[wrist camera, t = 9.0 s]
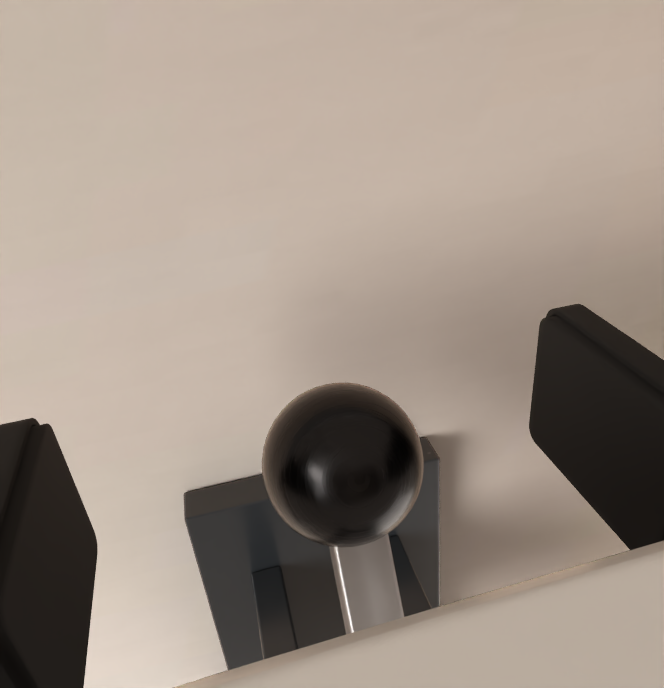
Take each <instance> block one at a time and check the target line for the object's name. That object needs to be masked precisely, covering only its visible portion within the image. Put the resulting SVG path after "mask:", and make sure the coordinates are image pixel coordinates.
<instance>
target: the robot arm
mask: <svg viewBox="0 0 664 688" xmlns="http://www.w3.org/2000/svg"><path fill="white" fill-rule="evenodd" d="M529 429H530V433H531V436H532V438H533V440H534V442H535V443H536V444H537V445H538V446H539V448H540V449H541V450H542V451H543V452H544V453H545V454H546V455H547V457H548V458H549V459H550V460H551V461H552V462H553V463H554V464H555V466H556V467H557V468H558V469H559V470H560V471H561V472H562V473H563V475H564V476H565V477H566V478H567V479H568V480H569V481H570V483H571V484H572V485H573V486H574V487H575V488H576V489H577V490H578V492H579V493H580V494H581V495H582V496H583V497H584V498H585V499H586V501H587V502H588V503H589V504H590V505H591V506H592V507H593V508H594V510H595V511H596V512H597V513H598V514H599V515H600V516H601V517H602V519H603V520H604V521H605V522H606V523H607V524H608V525H609V526H610V528H611V529H612V530H613V531H614V532H615V533H616V534H617V535H618V537H619V538H620V539H621V540H622V541H623V542H624V543H625V544H626V546H627V547H628V548H629V549H630V551H626V552H623V553H619V554H616V555H613V556H609V557H606V558H602V559H599V560H595V561H592V562H589V563H585V564H582V565H578V566H575V567H571V568H568V569H565V570H561V571H558V572H554V573H551V574H547V575H544V576H541V577H537V578H534V579H530V580H527V581H524V582H520V583H517V584H514V585H510V586H507V587H503V588H500V589H497V590H493V591H490V592H487V593H483V594H480V595H477V596H473V597H470V598H466V599H463V600H460V601H456V602H453V603H450V604H446V605H443V606H440V607H436V608H433V609H430V610H426V611H423V612H420V613H416V614H413V615H410V616H406V617H403V618H400V619H396V620H393V621H389V622H386V623H383V624H379V625H376V626H373V627H369V628H366V629H363V630H359V631H356V632H353V633H350V634H346V635H343V636H340V637H336V638H333V639H330V640H327V641H323V642H320V643H317V644H313V645H310V646H307V647H304V648H300V649H297V650H294V651H290V652H287V653H284V654H281V655H277V656H274V657H271V658H267V659H264V660H261V661H258V662H254V663H251V664H248V665H244V666H241V667H238V668H235V669H231V670H228V671H225V672H221V673H218V674H215V675H212V676H208V677H205V678H202V679H199V680H196V681H193V682H190V683H186V684H183V685H180V686H177V687H174V688H664V360H663V359H661V358H660V357H658V356H657V355H655V354H654V353H652V352H651V351H649V350H648V349H646V348H645V347H643V346H642V345H641V344H639V343H638V342H636V341H635V340H633V339H632V338H630V337H629V336H627V335H626V334H624V333H623V332H621V331H620V330H618V329H617V328H616V327H614V326H613V325H611V324H610V323H608V322H607V321H605V320H604V319H602V318H601V317H599V316H598V315H596V314H595V313H594V312H592V311H591V310H589V309H588V308H586V307H585V306H583V305H581V304H574V305H570V306H565V307H560V308H555V309H552V310H550V311H549V312H548V314H547V316H546V318H544V319H542V321H541V322H540V327H539V336H538V346H537V355H536V365H535V374H534V384H533V393H532V402H531V412H530V421H529ZM96 561H97V540H96V536H95V532H94V530H93V527H92V525H91V522H90V520H89V517H88V515H87V512H86V510H85V508H84V505H83V503H82V500H81V498H80V495H79V493H78V490H77V488H76V486H75V483H74V481H73V478H72V476H71V473H70V471H69V468H68V466H67V463H66V461H65V459H64V456H63V454H62V451H61V449H60V446H59V444H58V441H57V439H56V437H55V434H54V432H53V429H52V427H51V426H50V425H49V424H43V425H39V423H38V422H37V420H36V419H34V418H30V419H26V420H21V421H16V422H11V423H7V424H2V425H0V688H83V686H84V676H85V666H86V657H87V647H88V638H89V628H90V619H91V609H92V600H93V590H94V580H95V571H96Z"/></svg>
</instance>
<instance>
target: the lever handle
mask: <svg viewBox="0 0 664 688" xmlns="http://www.w3.org/2000/svg"><path fill="white" fill-rule="evenodd" d="M262 474H263V482H264V485H265V489H266V492H267V495H268V497H269V500H270V502H271V504H272V505H273V507H274V509H275V510H276V512H277V514H278V515H279V516H280V517H281V519H282V520H283V521H284V522H285V523H286V524H287V525H288V526H289V527H290V528H291V529H292V530H294V531H295V532H297V533H298V534H299V535H301V536H303V537H305V538H307V539H308V540H310V541H313V542H315V543H318V544H321V545H325V546H329V549H330V554H331V559H332V565H333V570H334V575H335V580H336V585H337V590H338V595H339V600H340V605H341V610H342V615H343V621H344V626H345V631H346V634H350V633H353V632H356V631H359V630H363V629H366V628H369V627H373V626H376V625H379V624H383V623H386V622H389V621H393V620H396V619H400V618H403V617H404V613H403V608H402V603H401V598H400V593H399V587H398V582H397V577H396V572H395V567H394V562H393V557H392V551H391V546H390V541H389V536H388V533H390V532H391V531H392V530H393V529H395V528H396V527H397V526H398V525H399V524H400V523H401V522H402V521H403V520H404V519H405V518H406V516H407V515H408V513H409V512H410V511H411V509H412V507H413V505H414V503H415V502H416V499H417V497H418V494H419V492H420V488H421V484H422V479H423V452H422V447H421V443H420V439H419V437H418V434H417V432H416V429H415V427H414V426H413V424H412V422H411V420H410V419H409V417H408V416H407V415H406V413H405V412H404V411H403V410H402V409H401V408H400V407H399V406H398V405H397V404H396V403H395V402H394V401H393V400H391V399H390V398H389V397H387V396H386V395H384V394H382V393H381V392H379V391H377V390H375V389H372V388H370V387H367V386H364V385H360V384H354V383H332V384H325V385H322V386H318V387H315V388H313V389H310V390H308V391H306V392H304V393H302V394H301V395H299V396H297V397H296V398H295V399H294V400H292V401H291V402H290V403H289V404H288V405H287V406H286V407H285V408H284V409H283V410H282V411H281V412H280V414H279V415H278V416H277V418H276V419H275V421H274V422H273V424H272V426H271V428H270V430H269V432H268V435H267V437H266V441H265V445H264V449H263V456H262Z"/></svg>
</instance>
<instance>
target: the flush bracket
mask: <svg viewBox="0 0 664 688" xmlns="http://www.w3.org/2000/svg"><path fill="white" fill-rule="evenodd" d="M419 439H420V443H421V447H422V452H423V479H422V484H421V488H420V492H419V494H418V497H417V499H416V502H415V503H414V505H413V507H412V509H411V511H410V512H409V513H408V515H407V516H406V518H405V519H404V520H403V521H402V522H401V523H400V524H399V525H398V526H397V527H396V528H395V529H393V530H392V531H391V532H390V533H388V536H389V541H390V546H391V551H392V557H393V562H394V567H395V572H396V577H397V582H398V587H399V593H400V598H401V603H402V608H403V613H404V617H406V616H410V615H413V614H416V613H420V612H423V611H426V610H430V609H433V608H436V607H440V458H439V457H438V455H437V454H436V452H435V450H434V449H433V447H432V446H431V444H430V442H429V441H428V439H427V438H426V437H423V438H419ZM184 515H185V522H186V526H187V529H188V533H189V536H190V540H191V543H192V547H193V550H194V554H195V557H196V561H197V564H198V567H199V571H200V574H201V578H202V581H203V585H204V588H205V592H206V595H207V599H208V602H209V606H210V609H211V612H212V616H213V619H214V623H215V626H216V630H217V633H218V637H219V640H220V644H221V647H222V651H223V654H224V657H225V661H226V664H227V668H228V670H231V669H235V668H238V667H241V666H244V665H248V664H251V663H254V662H258V661H261V660H264V659H267V658H271V657H274V656H277V655H281V654H284V653H287V652H290V651H294V650H297V649H300V648H304V647H307V646H310V645H313V644H317V643H320V642H323V641H327V640H330V639H333V638H336V637H340V636H343V635H346V631H345V626H344V621H343V615H342V610H341V605H340V600H339V595H338V590H337V585H336V580H335V575H334V570H333V565H332V559H331V554H330V549H329V546H325V545H321V544H318V543H315V542H313V541H310V540H308V539H307V538H305V537H303V536H301V535H299V534H298V533H297V532H295V531H294V530H292V529H291V528H290V527H289V526H288V525H287V524H286V523H285V522H284V521H283V520H282V519H281V517H280V516H279V515H278V514H277V512H276V510H275V509H274V507H273V505H272V504H271V502H270V500H269V497H268V495H267V492H266V489H265V485H264V482H263V475H259V476H254V477H250V478H246V479H241V480H237V481H233V482H229V483H224V484H220V485H216V486H211V487H207V488H203V489H198V490H194V491H190V492H186V493H184Z"/></svg>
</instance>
